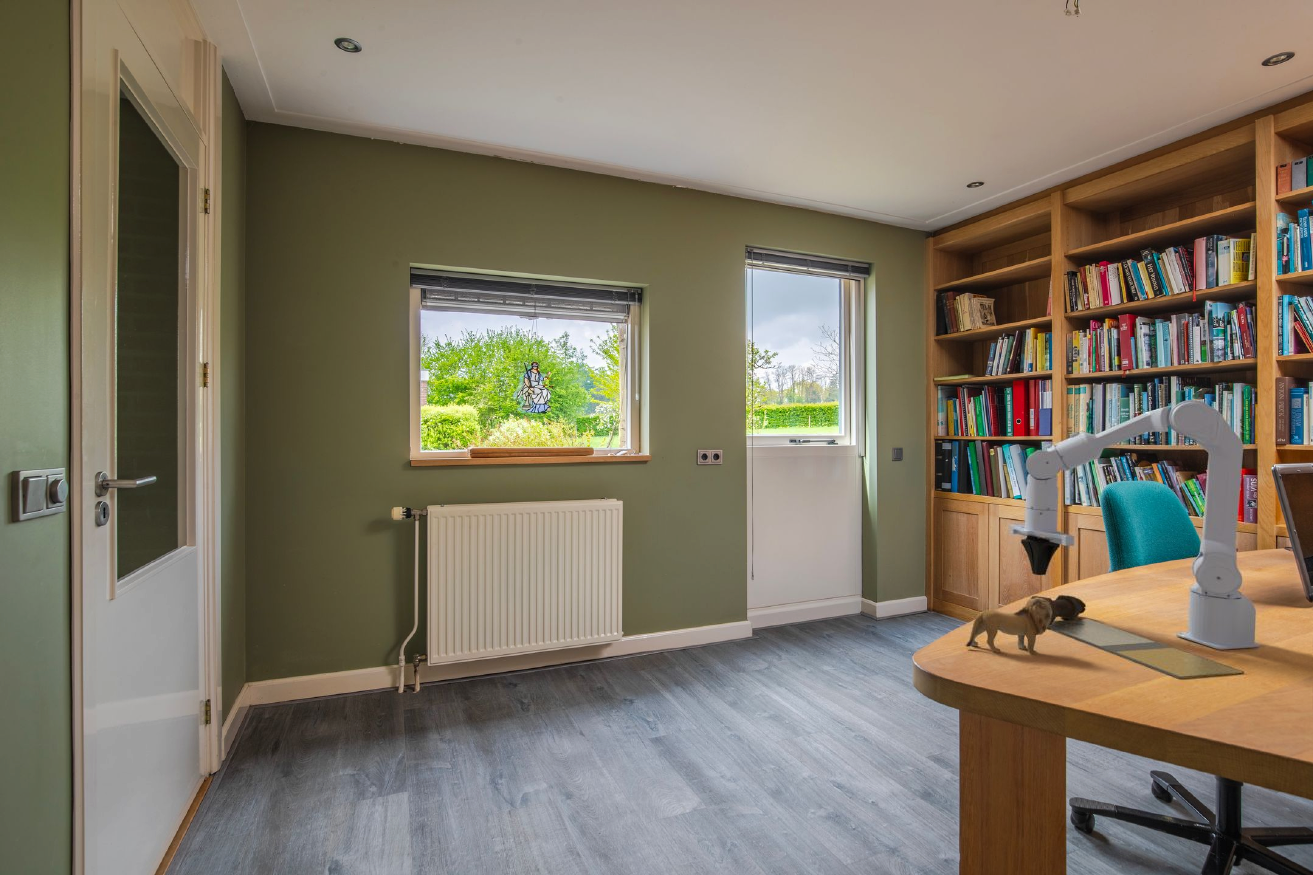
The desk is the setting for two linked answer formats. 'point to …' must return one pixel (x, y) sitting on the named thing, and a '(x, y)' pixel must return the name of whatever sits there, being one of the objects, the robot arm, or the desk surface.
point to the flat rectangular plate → (1141, 649)
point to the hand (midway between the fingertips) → (1039, 574)
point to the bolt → (1064, 607)
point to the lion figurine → (1014, 624)
